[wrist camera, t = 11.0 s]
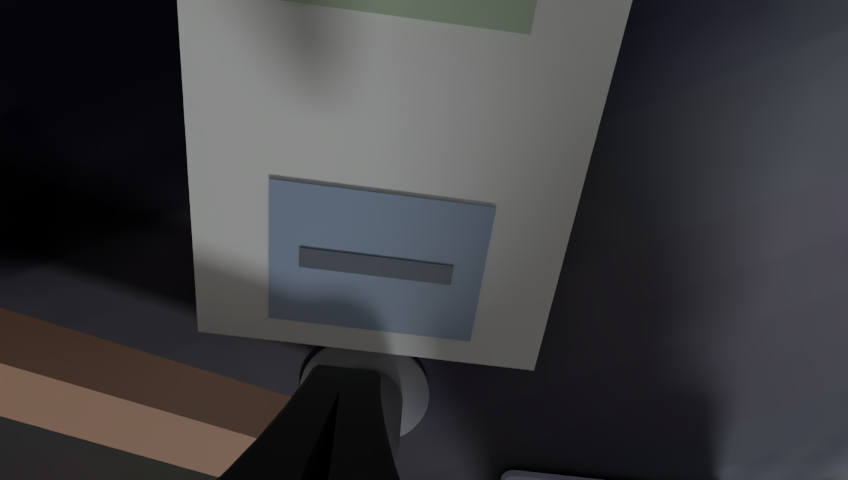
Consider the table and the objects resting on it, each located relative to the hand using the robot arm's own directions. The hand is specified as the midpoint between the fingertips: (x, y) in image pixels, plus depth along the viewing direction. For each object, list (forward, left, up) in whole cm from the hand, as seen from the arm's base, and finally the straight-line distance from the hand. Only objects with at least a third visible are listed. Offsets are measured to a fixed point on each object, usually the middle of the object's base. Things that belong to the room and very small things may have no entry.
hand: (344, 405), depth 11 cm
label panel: (0, -3, -7) cm, 8 cm away
